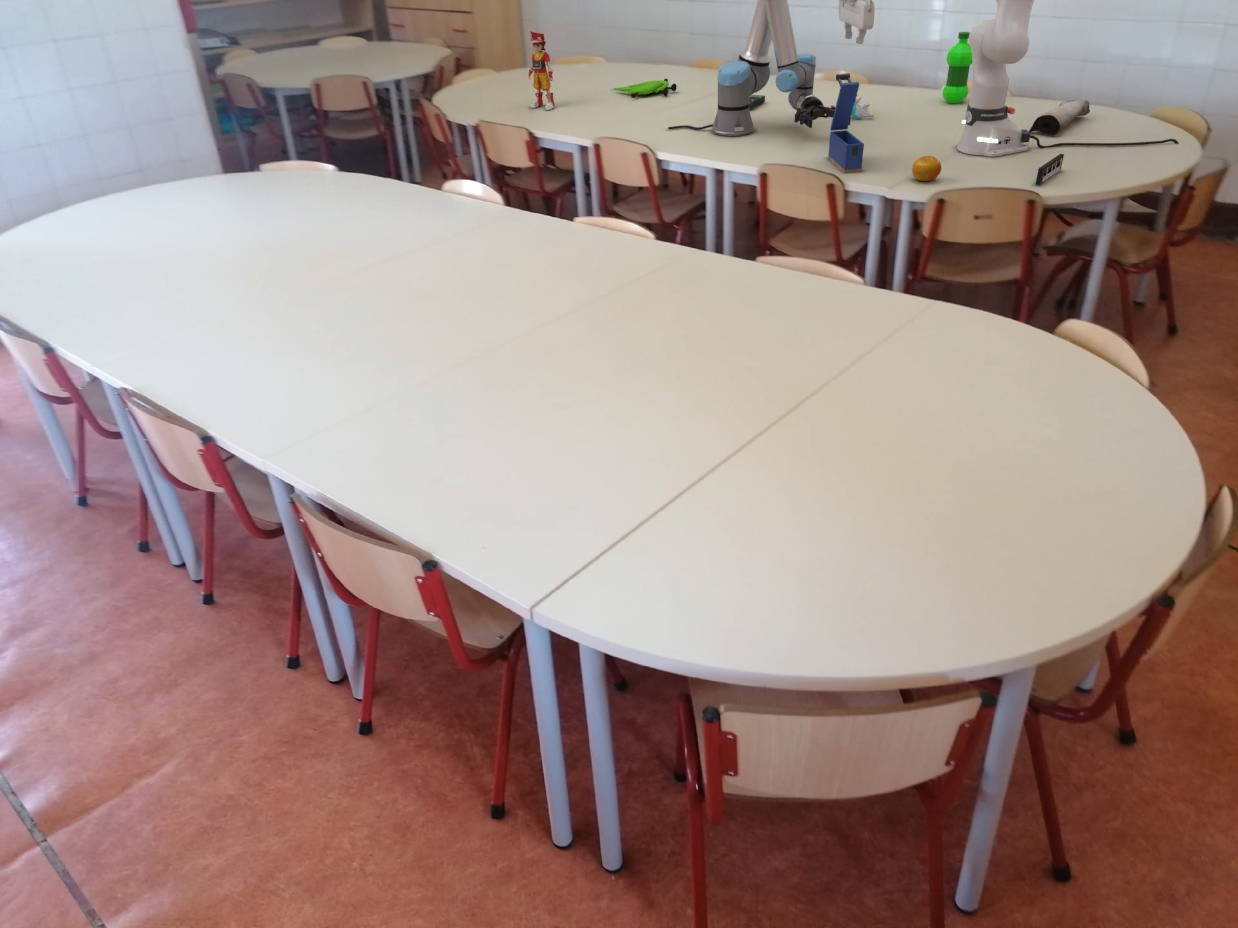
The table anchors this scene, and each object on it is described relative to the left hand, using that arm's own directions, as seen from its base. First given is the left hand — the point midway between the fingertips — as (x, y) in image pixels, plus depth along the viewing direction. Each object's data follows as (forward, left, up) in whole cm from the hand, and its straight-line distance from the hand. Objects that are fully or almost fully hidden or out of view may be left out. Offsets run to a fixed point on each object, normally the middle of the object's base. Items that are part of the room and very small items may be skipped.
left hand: (830, 122), depth 306 cm
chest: (+11, -14, -9) cm, 20 cm away
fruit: (+39, -21, -9) cm, 45 cm away
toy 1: (-133, +19, -9) cm, 135 cm away
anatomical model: (-6, +47, -9) cm, 48 cm away
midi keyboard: (+72, -6, -9) cm, 73 cm away
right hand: (+10, -13, +28) cm, 32 cm away
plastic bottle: (+24, +79, -9) cm, 83 cm away
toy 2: (-106, +56, -9) cm, 121 cm away
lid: (+8, -11, +8) cm, 16 cm away
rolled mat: (+66, +56, -9) cm, 87 cm away
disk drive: (-52, +48, -9) cm, 72 cm away
